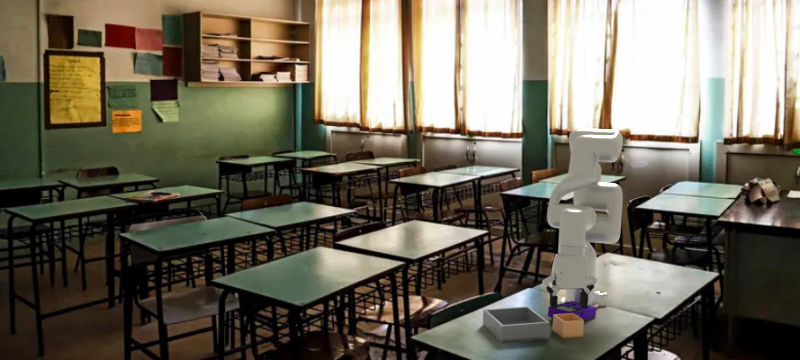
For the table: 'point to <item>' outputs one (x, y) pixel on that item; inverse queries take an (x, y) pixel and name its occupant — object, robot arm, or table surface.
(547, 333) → the grey square tray
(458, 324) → the table surface
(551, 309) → the handheld gaming console
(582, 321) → the orange crate
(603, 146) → the robot arm
